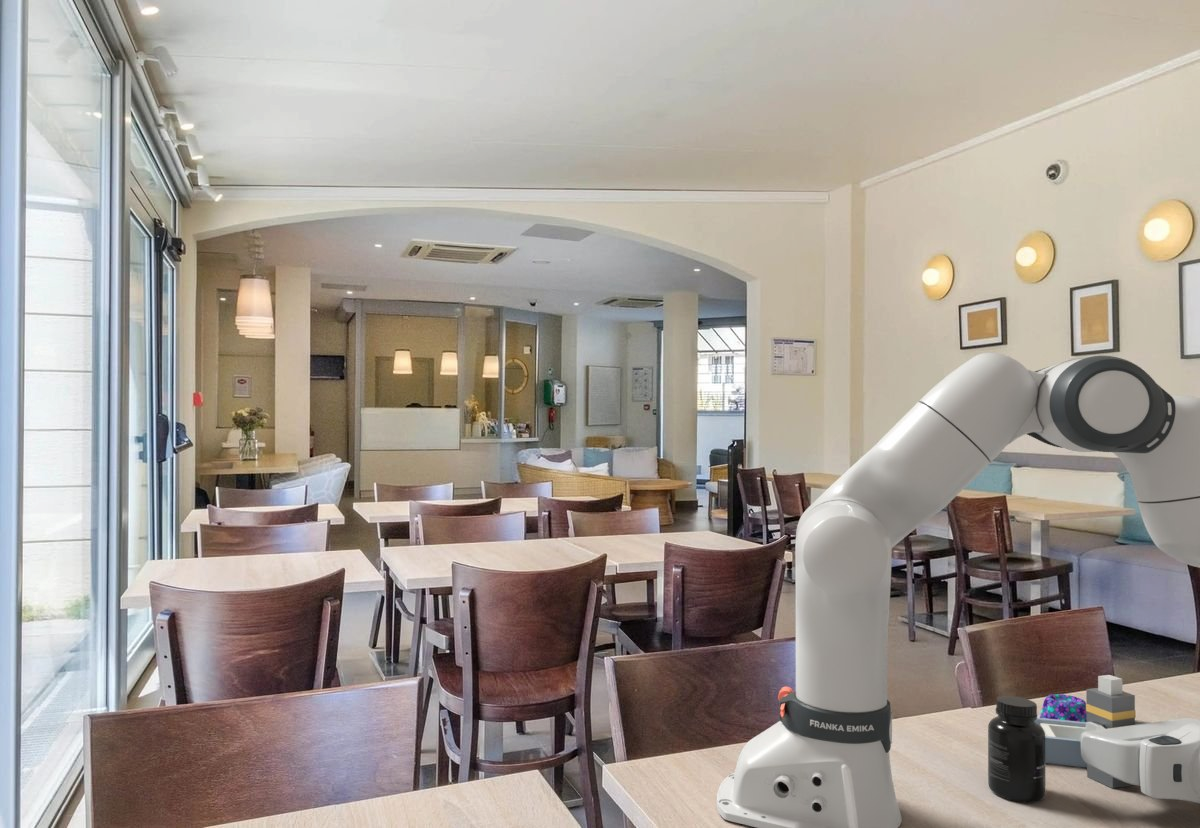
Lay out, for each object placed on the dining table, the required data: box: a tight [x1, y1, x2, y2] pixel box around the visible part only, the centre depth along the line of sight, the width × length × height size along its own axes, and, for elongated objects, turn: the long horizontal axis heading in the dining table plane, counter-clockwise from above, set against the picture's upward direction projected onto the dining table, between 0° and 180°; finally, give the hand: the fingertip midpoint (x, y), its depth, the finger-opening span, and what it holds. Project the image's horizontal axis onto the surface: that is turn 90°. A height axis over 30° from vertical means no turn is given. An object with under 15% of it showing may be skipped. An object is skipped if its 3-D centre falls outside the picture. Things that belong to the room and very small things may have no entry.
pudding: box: [1037, 693, 1087, 722], centre depth 134 cm, size 12×12×5 cm
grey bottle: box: [1085, 674, 1136, 789], centre depth 114 cm, size 4×4×14 cm
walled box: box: [1035, 718, 1087, 769], centre depth 124 cm, size 14×9×4 cm, turn 73°
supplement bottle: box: [987, 695, 1047, 803], centre depth 111 cm, size 7×7×12 cm
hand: (1104, 725), depth 115 cm, fingers closed on grey bottle, 4 cm apart
